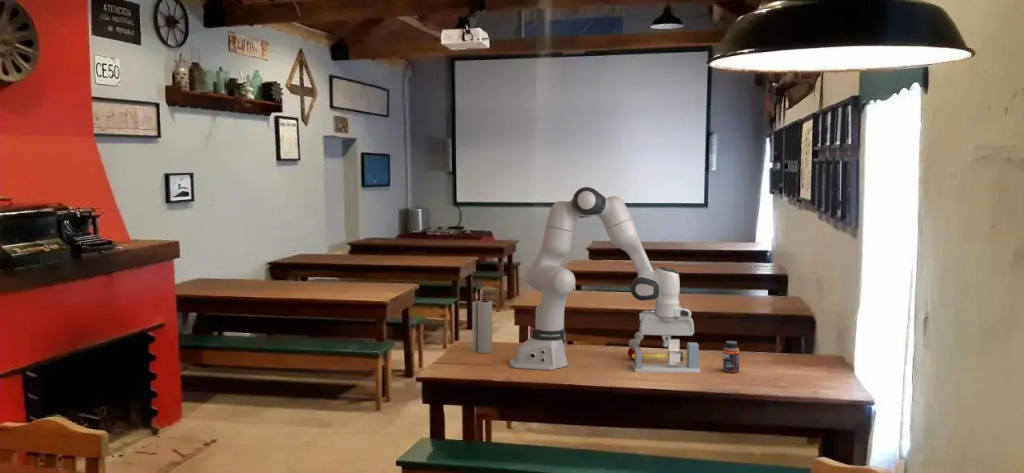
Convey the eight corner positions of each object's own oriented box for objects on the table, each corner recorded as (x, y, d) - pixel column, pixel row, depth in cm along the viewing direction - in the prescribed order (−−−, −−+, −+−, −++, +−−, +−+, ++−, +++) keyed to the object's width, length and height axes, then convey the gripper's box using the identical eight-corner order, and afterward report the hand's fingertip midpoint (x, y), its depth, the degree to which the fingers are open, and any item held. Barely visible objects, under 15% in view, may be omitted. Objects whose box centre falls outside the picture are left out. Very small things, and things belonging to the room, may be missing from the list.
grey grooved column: (495, 351, 329) (495, 300, 327) (487, 354, 324) (487, 302, 322) (480, 349, 332) (480, 299, 331) (472, 352, 327) (472, 301, 325)
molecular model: (638, 365, 306) (638, 340, 305) (623, 364, 307) (624, 339, 306) (644, 355, 322) (645, 331, 321) (631, 354, 324) (631, 330, 323)
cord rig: (633, 372, 295) (633, 345, 295) (630, 366, 304) (630, 340, 304) (700, 372, 295) (700, 346, 294) (695, 366, 304) (695, 341, 303)
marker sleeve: (669, 364, 297) (669, 340, 296) (667, 361, 302) (667, 338, 301) (680, 364, 297) (680, 340, 296) (677, 361, 302) (678, 338, 301)
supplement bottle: (738, 370, 299) (739, 340, 298) (739, 374, 293) (740, 343, 292) (722, 369, 300) (723, 339, 299) (723, 373, 294) (723, 343, 293)
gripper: (640, 311, 295) (639, 348, 296) (695, 312, 294) (694, 349, 295) (638, 308, 301) (637, 344, 302) (692, 309, 300) (691, 345, 302)
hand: (666, 346), depth 299 cm, fingers closed, pressing on marker sleeve
